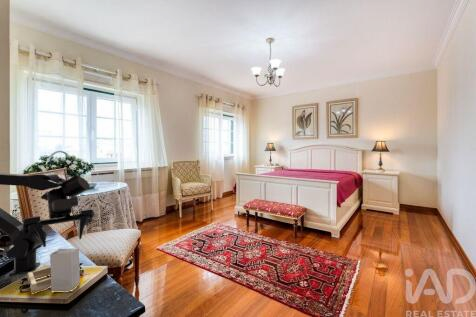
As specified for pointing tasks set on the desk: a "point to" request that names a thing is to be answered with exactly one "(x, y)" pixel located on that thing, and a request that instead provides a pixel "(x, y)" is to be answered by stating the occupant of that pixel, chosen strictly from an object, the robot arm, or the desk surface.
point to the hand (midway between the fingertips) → (63, 242)
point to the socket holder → (40, 284)
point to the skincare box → (65, 269)
